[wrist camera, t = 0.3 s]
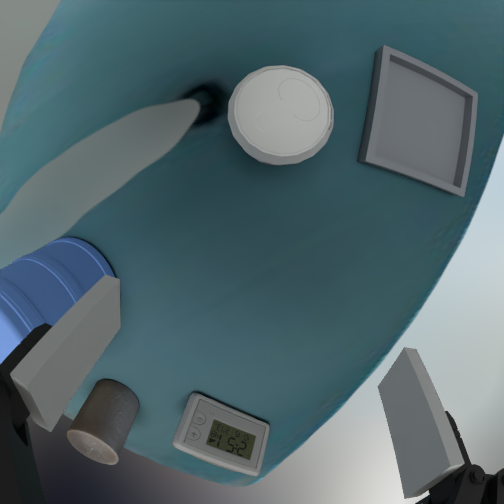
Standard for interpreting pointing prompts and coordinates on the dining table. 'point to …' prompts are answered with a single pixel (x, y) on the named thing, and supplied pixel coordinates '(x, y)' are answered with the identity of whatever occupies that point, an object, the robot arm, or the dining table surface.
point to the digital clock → (221, 435)
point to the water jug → (45, 287)
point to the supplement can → (280, 115)
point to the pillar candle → (104, 421)
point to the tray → (419, 122)
